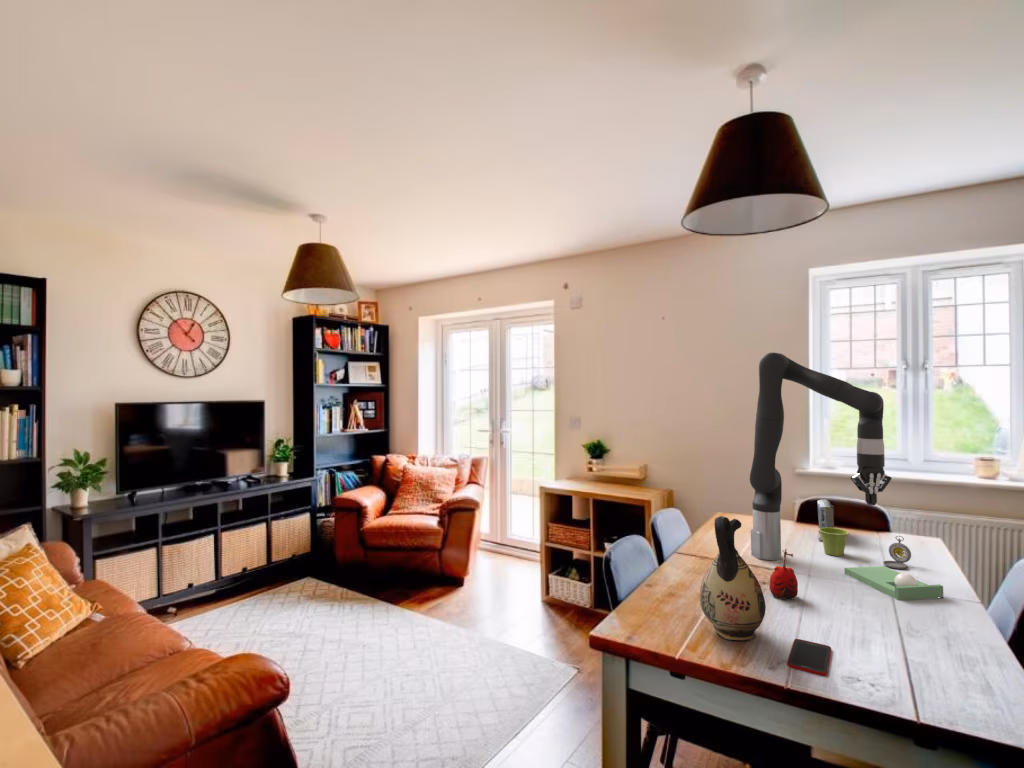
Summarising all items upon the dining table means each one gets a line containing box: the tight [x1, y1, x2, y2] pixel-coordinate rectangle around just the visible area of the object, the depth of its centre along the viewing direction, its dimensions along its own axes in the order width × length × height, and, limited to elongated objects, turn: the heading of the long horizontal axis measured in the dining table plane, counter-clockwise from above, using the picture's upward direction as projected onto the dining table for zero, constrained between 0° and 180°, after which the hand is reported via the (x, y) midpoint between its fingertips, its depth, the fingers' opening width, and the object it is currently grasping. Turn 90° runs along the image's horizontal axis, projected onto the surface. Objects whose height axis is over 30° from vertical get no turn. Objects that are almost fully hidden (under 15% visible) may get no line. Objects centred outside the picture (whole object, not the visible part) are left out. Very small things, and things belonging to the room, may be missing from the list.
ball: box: [894, 572, 918, 586], centre depth 156 cm, size 6×6×6 cm
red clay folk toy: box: [768, 548, 799, 600], centre depth 155 cm, size 8×7×15 cm
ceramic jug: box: [699, 515, 767, 649], centre depth 132 cm, size 17×15×30 cm
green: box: [843, 565, 944, 601], centre depth 162 cm, size 14×22×4 cm, turn 4°
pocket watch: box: [882, 535, 912, 570], centre depth 179 cm, size 8×8×10 cm
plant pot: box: [818, 527, 849, 557], centre depth 194 cm, size 9×9×9 cm
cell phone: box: [786, 638, 832, 677], centre depth 119 cm, size 8×15×1 cm, turn 145°
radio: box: [816, 498, 835, 542], centre depth 218 cm, size 23×9×15 cm, turn 145°
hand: (871, 504), depth 171 cm, fingers closed
